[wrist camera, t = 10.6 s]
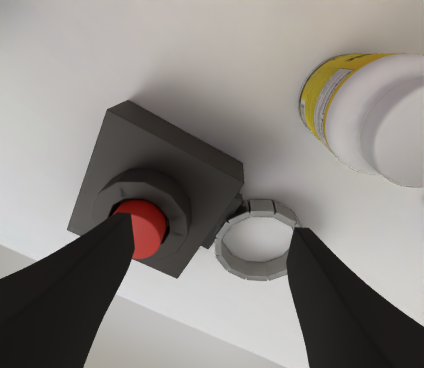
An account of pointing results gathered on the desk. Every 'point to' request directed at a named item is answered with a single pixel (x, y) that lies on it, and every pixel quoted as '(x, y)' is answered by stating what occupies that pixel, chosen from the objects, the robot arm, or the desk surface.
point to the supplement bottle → (370, 113)
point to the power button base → (157, 181)
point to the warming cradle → (241, 212)
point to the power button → (145, 226)
